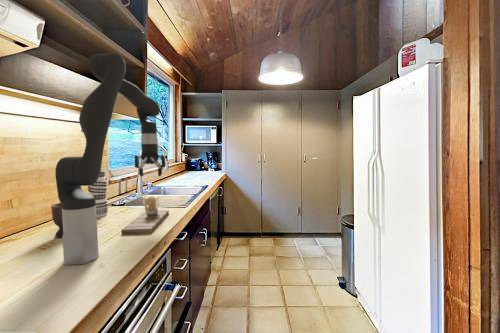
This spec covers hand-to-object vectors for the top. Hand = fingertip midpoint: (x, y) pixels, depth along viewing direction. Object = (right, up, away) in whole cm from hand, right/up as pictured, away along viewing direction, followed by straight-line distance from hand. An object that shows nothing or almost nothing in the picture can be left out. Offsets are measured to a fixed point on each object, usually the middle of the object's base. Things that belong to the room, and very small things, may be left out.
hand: (150, 176), depth 134 cm
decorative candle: (-32, -21, +11) cm, 39 cm away
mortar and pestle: (-25, -24, -22) cm, 41 cm away
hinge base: (+1, -22, -5) cm, 23 cm away
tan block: (0, -17, -2) cm, 17 cm away
